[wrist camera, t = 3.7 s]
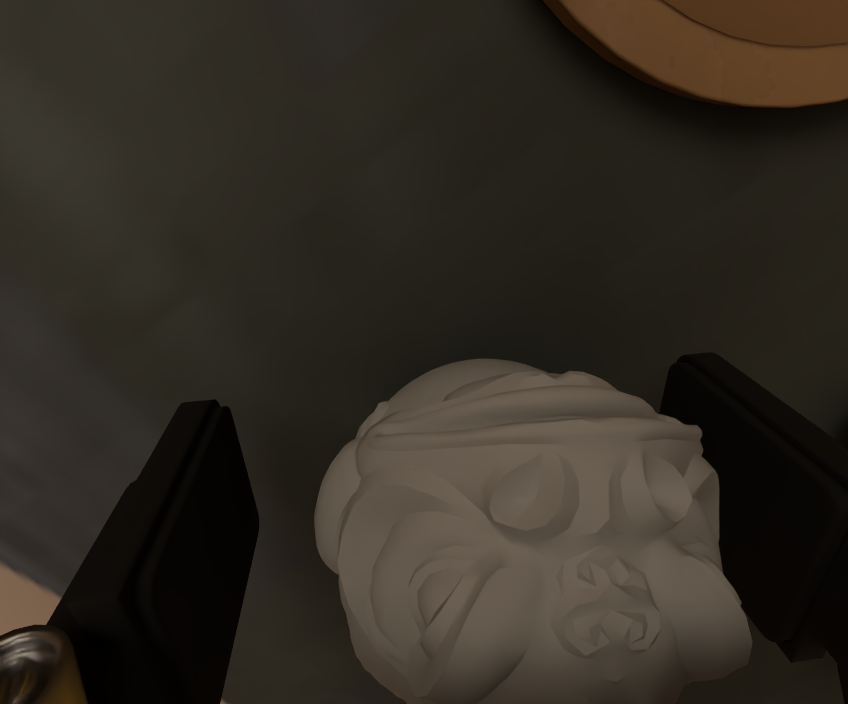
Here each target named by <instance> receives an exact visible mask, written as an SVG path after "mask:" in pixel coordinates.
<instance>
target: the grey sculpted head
mask: <svg viewBox="0 0 848 704" xmlns="http://www.w3.org/2000/svg"><path fill="white" fill-rule="evenodd" d="M701 437H702V431H701V429H700V428H699V427H698V426H697V425H685V424H683V423H681V422H680V421H678V420H677V419H675V418H672V417H668V416H665V415H661V414H657V413H656V412H655V411H654V409H653V408H652V407H651V406H650V405H649V404H648V403H646V402H645V401H644V400H643V399H642V398H639V397H636V396H633V395H629V394H626V393H623V392H620V391H617V390H616V389H615V388H614V387H613V386H612V385H610V384H609V383H607V382H606V381H604V380H603V379H601V378H598V377H595V376H593V375H590V374H587V373H585V372H578V371H568V372H566V373H563V374H556V373H547V372H545V371H542V370H540V369H537V368H534V367H531V366H529V365H526V364H522V363H518V362H514V361H509V360H501V359H470V360H464V361H458V362H454V363H450V364H447V365H444V366H441V367H438V368H436V369H433V370H431V371H429V372H427V373H425V374H423V375H421V376H419V377H418V378H416V379H414V380H413V381H411V382H410V383H408V384H407V385H406V386H404V387H403V388H402V389H401V390H400V391H398V392H397V393H396V394H395V395H394V396H393V397H392V398H391V399H390V400H389V401H386V402H381V403H379V404H378V406H377V408H376V409H375V411H374V412H373V413H372V414H371V415H370V416H369V417H368V418H367V419H366V420H365V421H364V423H363V424H362V425H361V426H360V427H359V430H358V433H357V435H356V438H355V439H354V440H352V441H350V442H349V443H347V444H346V445H345V446H344V447H343V448H342V450H341V451H340V452H339V453H338V455H337V456H336V457H335V459H334V460H333V461H332V463H331V465H330V467H329V468H328V470H327V472H326V474H325V476H324V478H323V480H322V484H321V487H320V491H319V495H318V499H317V504H316V509H315V517H314V525H315V535H316V546H317V548H318V551H319V554H320V556H321V558H322V560H323V561H324V563H325V564H326V565H327V566H328V567H329V568H330V569H331V570H332V571H333V572H335V573H336V574H338V575H339V590H340V596H341V602H342V605H343V607H344V610H345V612H346V615H347V623H348V625H349V628H350V637H351V641H352V644H353V647H354V650H355V654H356V657H357V658H358V659H359V660H360V661H361V663H362V665H363V667H364V669H365V670H366V671H368V672H369V673H371V674H372V675H373V677H374V678H375V679H376V680H377V681H378V682H379V683H380V684H381V685H383V686H385V687H386V688H387V689H388V690H389V691H391V692H393V693H394V695H395V696H397V697H399V698H401V699H403V700H404V701H405V702H406V703H407V704H676V702H677V701H678V698H679V696H680V694H681V692H682V690H683V688H684V686H685V685H686V684H689V683H691V682H692V681H706V680H713V679H720V678H724V677H725V676H727V675H728V674H730V673H731V672H733V671H734V670H736V669H738V668H741V667H743V666H746V665H748V661H749V657H750V652H751V647H752V638H751V634H750V630H749V627H748V623H747V619H746V615H745V614H744V612H743V611H742V609H741V607H740V605H741V603H742V602H741V600H740V599H739V597H738V595H737V593H736V591H735V590H734V588H733V587H732V586H731V584H730V583H729V582H728V580H727V579H726V577H725V576H724V575H723V569H722V563H721V556H720V550H719V545H718V542H719V481H718V475H717V473H716V471H715V470H714V469H713V467H712V466H711V465H710V464H709V463H708V462H707V461H706V460H705V459H704V458H703V457H701V456H702V453H703V448H702V445H701V442H700V439H701Z"/></svg>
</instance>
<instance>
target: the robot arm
mask: <svg viewBox="0 0 848 704" xmlns="http://www.w3.org/2000/svg"><path fill="white" fill-rule="evenodd" d="M659 414H661V415H665V416H668V417H672V418H675V419H677V420H678V421H680V422H681V423H683V424H685V425H697V426H698V427H699V428H700V429H701V431H702V437H701V439H700V442H701V445H702V448H703V453H702V456H701V457H703V458H704V459H705V460H706V461H707V462H708V463H709V464H710V465H711V466H712V467H713V469H714V470H715V471H716V473H717V475H718V481H719V542H718V545H719V550H720V556H721V563H722V569H723V575H724V576H725V577H726V579H727V580H728V582H729V583H730V584H731V586H732V587H733V588H734V590H735V591H736V593H737V595H738V597H739V599H740V600H741V602H742V603H741V605H740V606H741V607H742V608H743V610H744V611H745V612H746V614H747V615H748V616H749V618H750V619H751V620H752V622H753V623H754V624H755V626H756V627H757V628H758V630H759V631H760V632H761V633H762V634H763V635H764V637H766V638H767V639H768V640H770V641H772V642H776V644H777V645H778V646H779V647H780V649H781V650H782V651H783V653H784V654H785V655H786V657H787V658H788V659H789V661H790V662H791V663H792V662H798V661H805V660H811V659H818V658H822V657H823V656H824V654H825V652H826V650H827V651H828V652H829V654H830V655H831V656H832V657H833V658H834V659H835V661H836V662H837V667H838V672H839V677H840V683H841V688H842V693H843V698H844V703H845V704H848V449H847V448H846V447H845V446H843V445H842V444H841V443H839V442H838V441H836V440H835V439H834V438H832V437H831V436H829V435H828V434H827V433H825V432H824V431H823V430H821V429H820V428H818V427H817V426H816V425H814V424H813V423H811V422H810V421H809V420H807V419H806V418H805V417H803V416H802V415H800V414H799V413H798V412H796V411H795V410H793V409H792V408H791V407H789V406H788V405H787V404H785V403H784V402H782V401H781V400H780V399H778V398H777V397H775V396H774V395H773V394H771V393H770V392H769V391H767V390H766V389H764V388H763V387H762V386H760V385H759V384H758V383H756V382H755V381H753V380H752V379H751V378H749V377H748V376H746V375H745V374H744V373H742V372H741V371H740V370H738V369H737V368H735V367H734V366H733V365H731V364H730V363H728V362H727V361H726V360H724V359H723V358H722V357H720V356H719V355H717V354H715V353H700V354H689V355H683V356H681V357H679V359H678V360H677V362H676V363H674V364H672V365H671V367H670V369H669V372H668V376H667V381H666V385H665V390H664V394H663V399H662V403H661V408H660V412H659ZM258 532H259V515H258V511H257V507H256V503H255V499H254V496H253V492H252V488H251V484H250V481H249V477H248V473H247V469H246V466H245V462H244V458H243V454H242V451H241V447H240V443H239V439H238V436H237V432H236V428H235V424H234V421H233V417H232V413H231V410H230V409H229V407H227V406H224V407H220V405H219V403H218V402H217V401H216V400H205V401H194V402H184V403H181V404H180V406H179V407H178V409H177V411H176V412H175V414H174V416H173V418H172V419H171V421H170V423H169V424H168V426H167V428H166V430H165V431H164V433H163V435H162V437H161V438H160V440H159V442H158V444H157V445H156V447H155V449H154V451H153V452H152V454H151V456H150V458H149V459H148V461H147V463H146V465H145V466H144V468H143V470H142V472H141V473H140V475H139V477H138V479H137V480H136V481H134V482H132V483H130V485H129V486H128V487H127V489H126V490H125V491H124V493H123V495H122V496H121V498H120V500H119V502H118V503H117V505H116V507H115V508H114V510H113V512H112V514H111V515H110V517H109V519H108V520H107V522H106V524H105V525H104V527H103V529H102V531H101V532H100V534H99V536H98V537H97V539H96V541H95V542H94V544H93V546H92V548H91V549H90V551H89V553H88V554H87V556H86V558H85V560H84V561H83V563H82V565H81V566H80V568H79V570H78V571H77V573H76V575H75V577H74V578H73V580H72V582H71V583H70V585H69V587H68V589H67V590H66V592H65V594H64V595H63V597H62V599H61V600H60V602H59V604H58V606H57V607H56V609H55V611H54V613H53V614H52V616H51V618H50V619H49V621H48V623H47V624H46V625H32V626H27V627H23V628H19V629H15V630H12V631H10V632H8V633H6V634H3V635H1V636H0V704H220V701H221V697H222V692H223V688H224V683H225V679H226V675H227V670H228V666H229V661H230V657H231V652H232V648H233V644H234V639H235V635H236V630H237V626H238V621H239V617H240V613H241V608H242V604H243V599H244V595H245V590H246V586H247V582H248V577H249V573H250V568H251V564H252V559H253V555H254V550H255V546H256V542H257V537H258Z"/></svg>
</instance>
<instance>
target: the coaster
mask: <svg viewBox="0 0 848 704" xmlns="http://www.w3.org/2000/svg"><path fill="white" fill-rule="evenodd" d="M542 1H543V2H544V3H545V4H546V5H547V6H548V7H549V9H550V10H551V11H552V12H553V13H554V14H555V15H556V17H557V18H558V19H559V20H560V21H561V22H562V23H563V25H564V26H565V27H566V28H568V29H569V30H570V31H571V32H572V33H574V34H575V35H576V36H577V37H578V38H579V39H581V40H582V41H583V42H584V43H585V44H587V45H588V46H589V47H590V48H591V49H592V50H594V51H595V52H596V53H597V54H598V55H600V56H601V57H602V58H603V59H605V60H606V61H608V62H610V63H611V64H613V65H615V66H617V67H618V68H620V69H622V70H623V71H625V72H627V73H628V74H630V75H632V76H633V77H635V78H637V79H638V80H640V81H642V82H644V83H646V84H649V85H651V86H654V87H657V88H659V89H662V90H664V91H667V92H670V93H672V94H675V95H677V96H680V97H683V98H687V99H692V100H697V101H702V102H707V103H712V104H717V105H722V106H734V107H765V108H795V107H803V106H811V105H819V104H827V103H835V102H839V101H843V100H846V99H848V0H542Z"/></svg>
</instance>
